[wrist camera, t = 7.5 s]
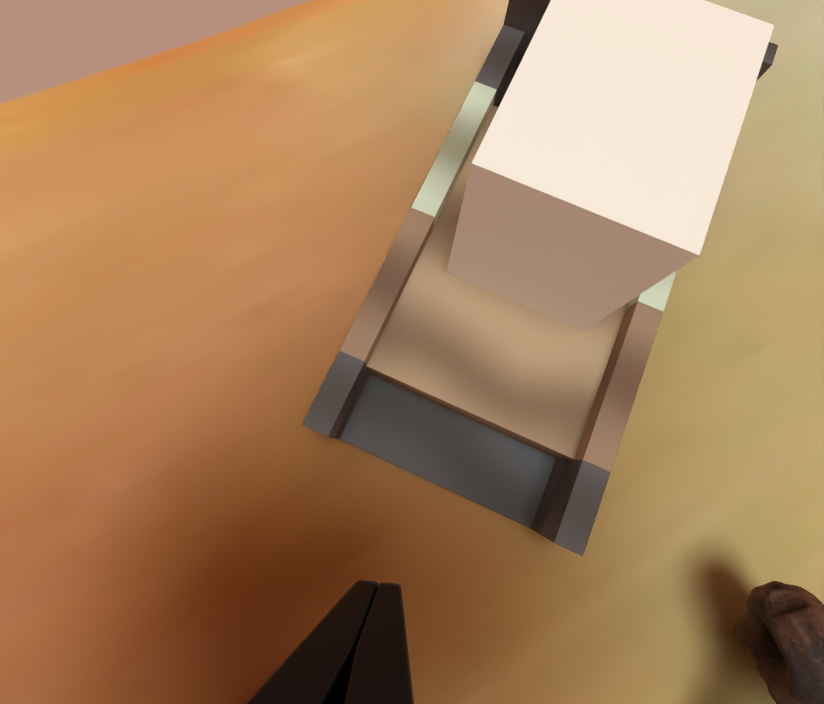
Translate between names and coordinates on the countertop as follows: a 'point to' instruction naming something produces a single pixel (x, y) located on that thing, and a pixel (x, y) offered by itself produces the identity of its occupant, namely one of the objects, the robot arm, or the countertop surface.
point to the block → (607, 153)
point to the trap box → (487, 354)
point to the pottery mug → (786, 641)
